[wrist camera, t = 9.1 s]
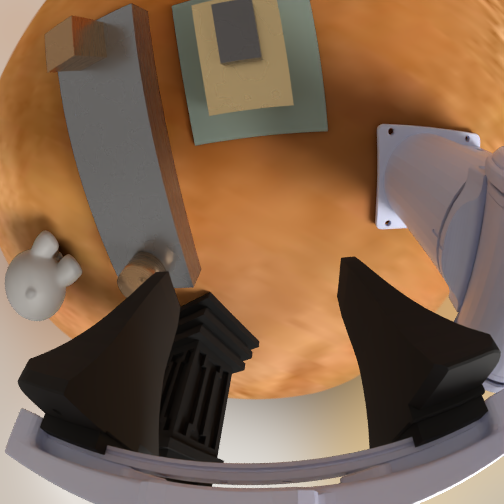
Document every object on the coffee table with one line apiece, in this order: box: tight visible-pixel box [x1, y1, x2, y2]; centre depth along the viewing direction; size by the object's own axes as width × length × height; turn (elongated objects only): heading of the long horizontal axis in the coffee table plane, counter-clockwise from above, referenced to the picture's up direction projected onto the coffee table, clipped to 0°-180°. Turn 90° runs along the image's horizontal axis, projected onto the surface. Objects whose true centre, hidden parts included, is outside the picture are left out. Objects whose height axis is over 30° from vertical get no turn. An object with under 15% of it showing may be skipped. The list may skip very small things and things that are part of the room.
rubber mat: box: [172, 0, 328, 145], centre depth 14 cm, size 9×11×1 cm
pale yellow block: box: [191, 0, 294, 116], centre depth 12 cm, size 7×4×4 cm, turn 8°
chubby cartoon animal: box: [5, 230, 82, 321], centre depth 23 cm, size 7×12×8 cm, turn 125°
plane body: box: [45, 3, 201, 298], centre depth 16 cm, size 22×7×6 cm, turn 8°
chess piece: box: [156, 292, 259, 487], centre depth 20 cm, size 8×8×20 cm
